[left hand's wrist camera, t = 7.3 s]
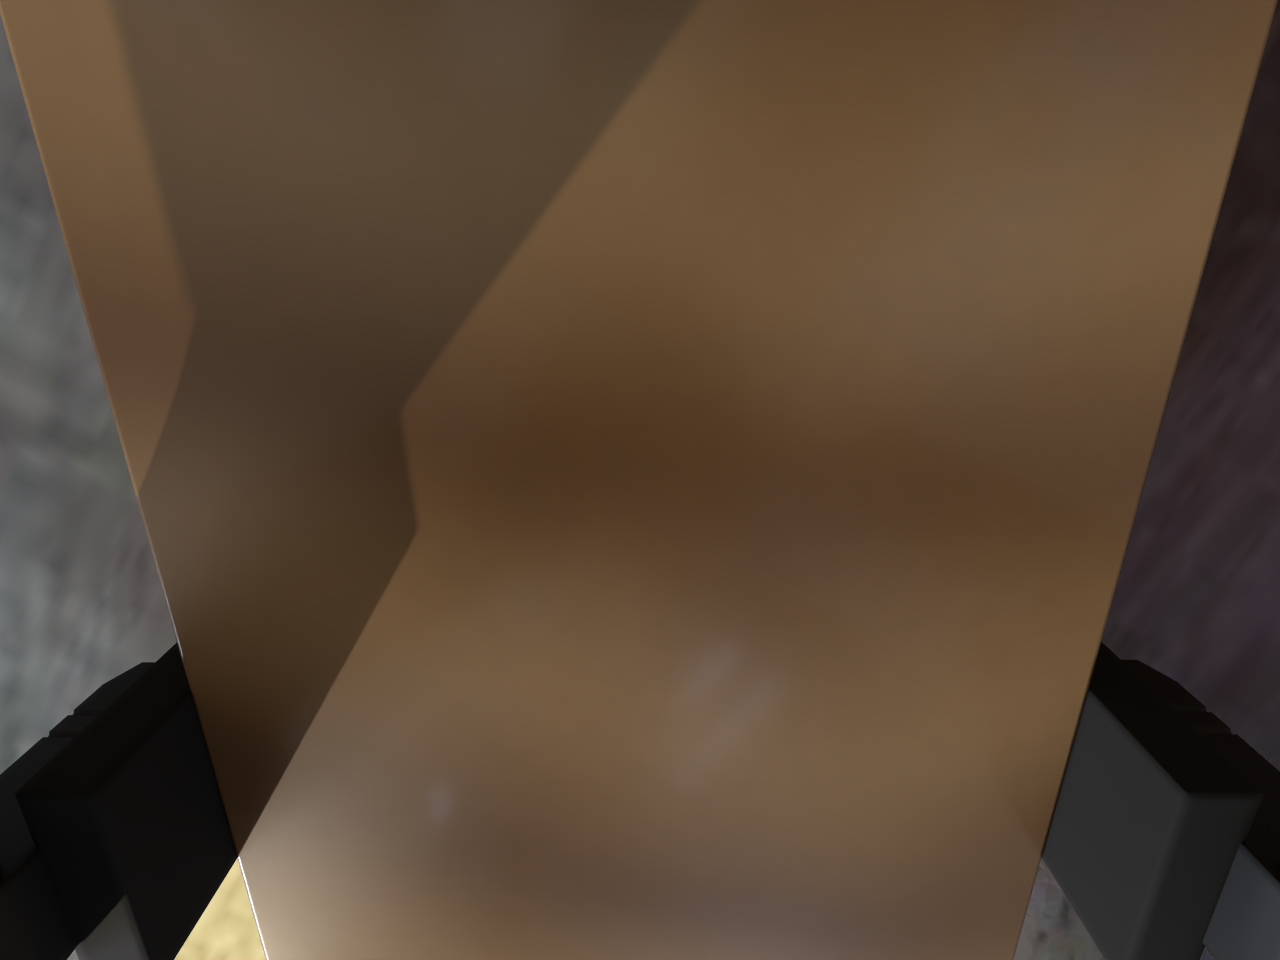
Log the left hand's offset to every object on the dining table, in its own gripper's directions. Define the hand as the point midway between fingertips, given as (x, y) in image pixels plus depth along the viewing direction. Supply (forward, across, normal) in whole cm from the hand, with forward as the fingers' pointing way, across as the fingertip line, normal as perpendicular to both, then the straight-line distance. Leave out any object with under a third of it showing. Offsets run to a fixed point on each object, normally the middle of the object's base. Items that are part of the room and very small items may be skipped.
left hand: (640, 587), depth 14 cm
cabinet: (+6, 0, -5) cm, 8 cm away
